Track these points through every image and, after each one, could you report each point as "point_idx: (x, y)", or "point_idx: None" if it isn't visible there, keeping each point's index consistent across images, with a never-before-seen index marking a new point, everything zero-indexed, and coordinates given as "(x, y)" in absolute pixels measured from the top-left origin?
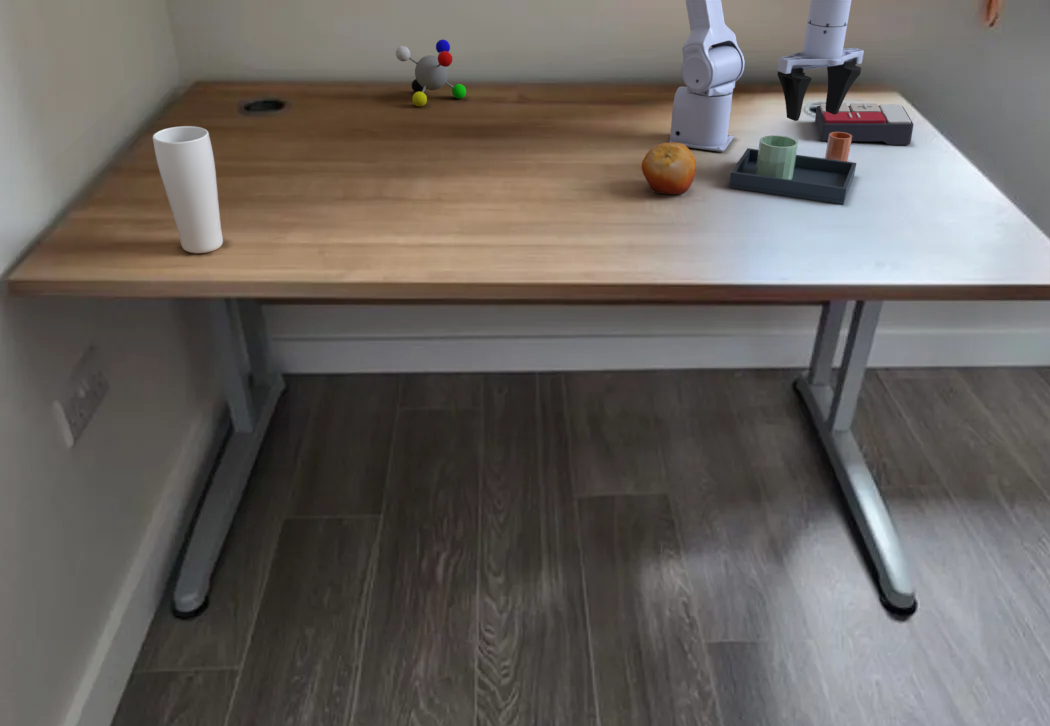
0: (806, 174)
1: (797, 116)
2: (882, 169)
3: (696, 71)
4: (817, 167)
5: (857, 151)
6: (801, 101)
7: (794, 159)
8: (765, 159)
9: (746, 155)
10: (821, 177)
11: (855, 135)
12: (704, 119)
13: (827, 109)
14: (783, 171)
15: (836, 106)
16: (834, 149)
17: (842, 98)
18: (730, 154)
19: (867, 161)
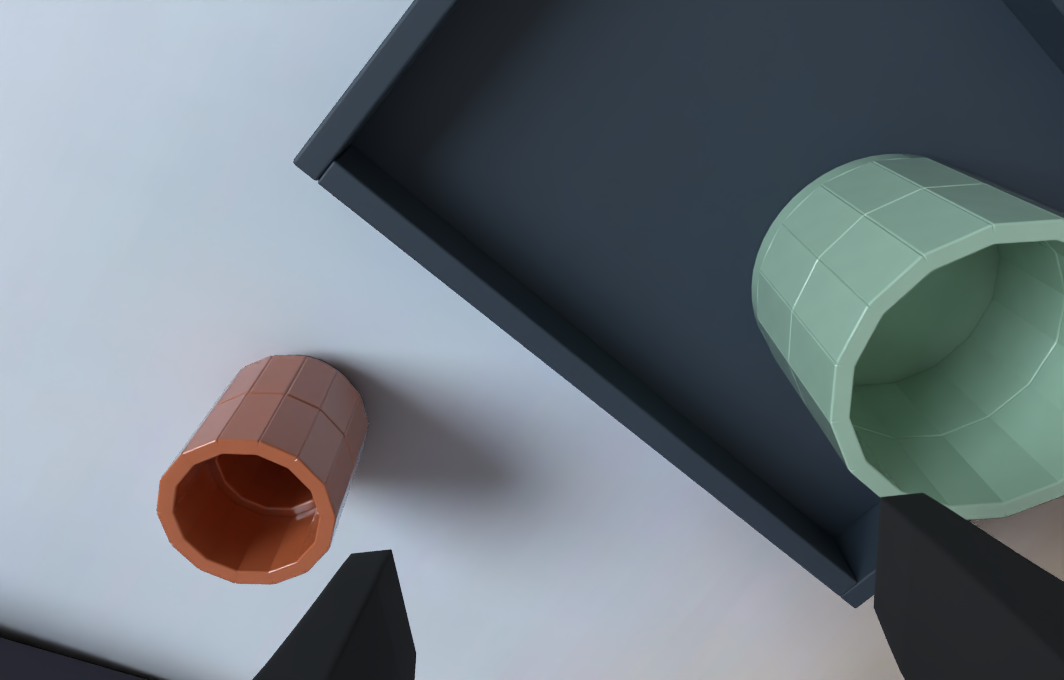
0: (649, 237)
1: (940, 510)
2: (37, 220)
3: None
4: (531, 295)
5: (70, 529)
6: (1050, 615)
7: (876, 213)
8: None
9: None
10: (584, 155)
11: (8, 670)
12: None
13: (408, 655)
14: (949, 169)
15: (373, 604)
16: (331, 427)
17: (296, 663)
18: (815, 665)
19: (79, 374)
